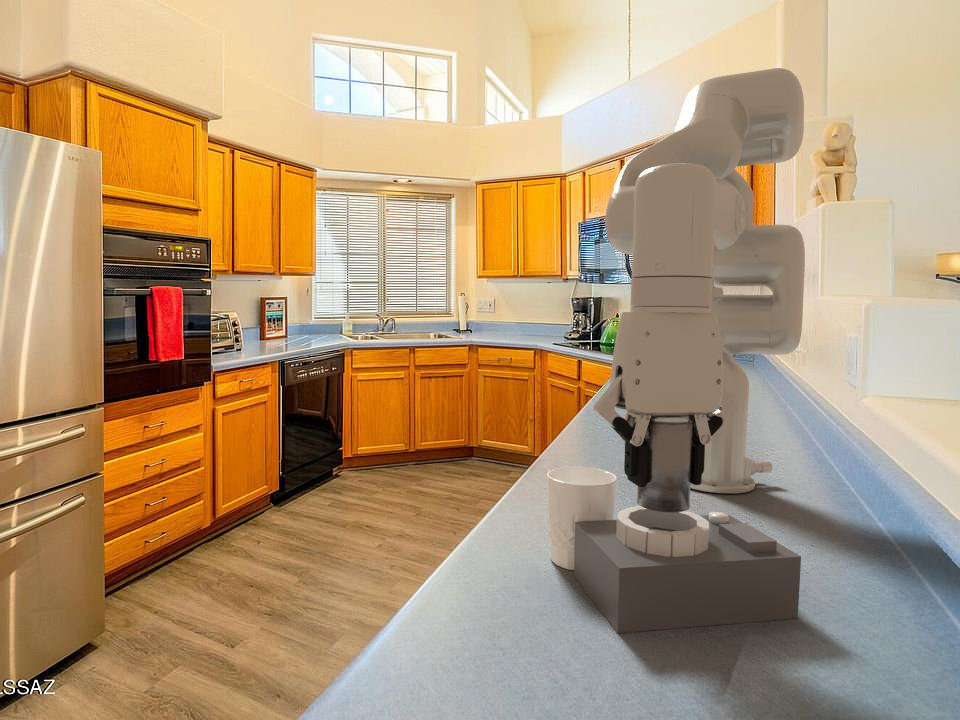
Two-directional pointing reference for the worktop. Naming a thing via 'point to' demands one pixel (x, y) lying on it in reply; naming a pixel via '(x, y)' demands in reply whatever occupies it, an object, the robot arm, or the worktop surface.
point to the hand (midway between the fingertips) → (663, 480)
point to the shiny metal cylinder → (668, 464)
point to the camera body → (684, 570)
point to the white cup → (576, 506)
